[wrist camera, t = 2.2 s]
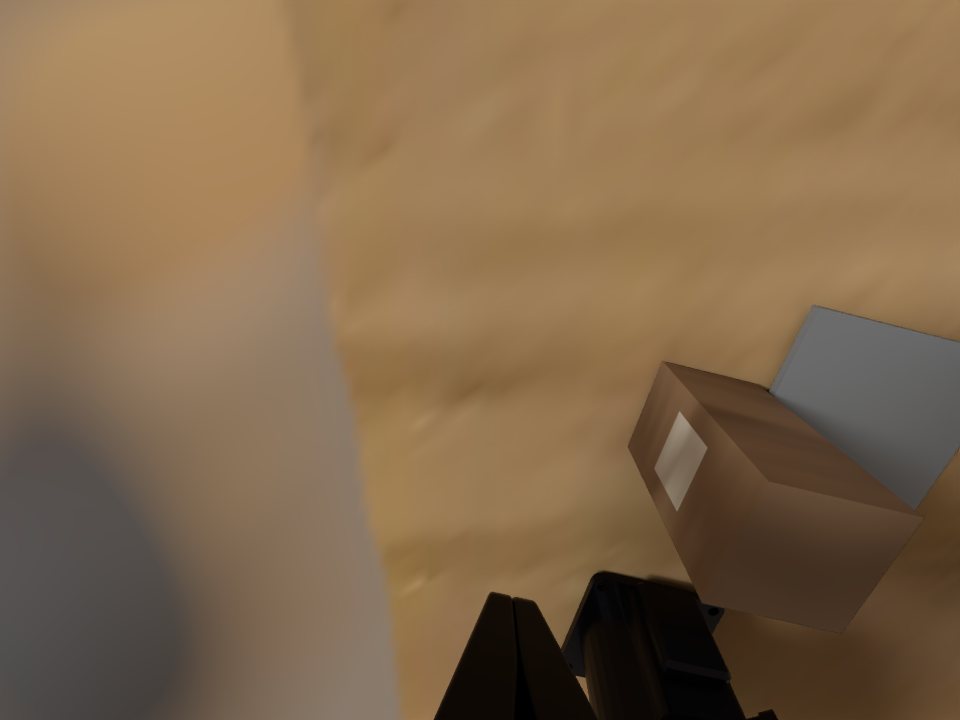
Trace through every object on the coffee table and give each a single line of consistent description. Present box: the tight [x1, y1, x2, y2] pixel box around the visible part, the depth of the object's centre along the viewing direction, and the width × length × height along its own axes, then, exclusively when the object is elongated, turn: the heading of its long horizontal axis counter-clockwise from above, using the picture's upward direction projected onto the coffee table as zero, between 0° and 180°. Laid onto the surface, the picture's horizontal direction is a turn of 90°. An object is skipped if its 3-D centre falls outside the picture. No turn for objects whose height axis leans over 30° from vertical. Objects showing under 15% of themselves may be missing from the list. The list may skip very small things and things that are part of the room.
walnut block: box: [628, 361, 924, 634], centre depth 16 cm, size 4×4×8 cm
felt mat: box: [768, 305, 960, 510], centre depth 20 cm, size 11×8×1 cm
